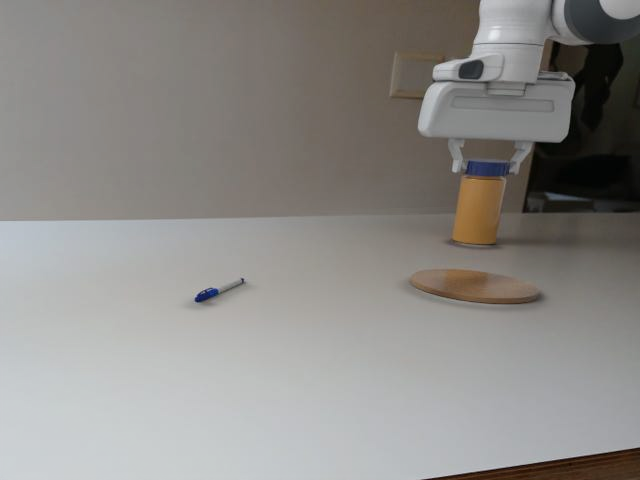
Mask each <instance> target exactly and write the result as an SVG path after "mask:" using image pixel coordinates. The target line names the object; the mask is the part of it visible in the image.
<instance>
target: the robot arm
mask: <svg viewBox="0 0 640 480" xmlns="http://www.w3.org/2000/svg"><path fill="white" fill-rule="evenodd" d="M478 16H479V25H478V30H477V33H476V36H475V38H474V39H473V42H472V48H471V53H470V55H467V56H461V57H460V56H459V57H457V58H456V59H452V60H449V61H445V62H442V63H438V64H436V65H435V66H434V67H433V69H432V79H433V80H434V81H435V82H434V83H432V84H431V85H430V86H429V87H428V88H427V90H426V91H425V94H424V97H423V100H422V103H421V107H420V111H419V117H418V123H417V130H418V132H419V134H420V135H421V137H424V138H433V139H448V142H447V148H448V151H449V153H450V155H451V158H452V159H453V161H452V166H451V172H452V173H457V174H463V173H466V172H467V166H468V163H469V160H464V159H465V158H464V157H463V154H462V151H461V148H464V147H465V142H466V140H483V141H484V140H485V141H505V142H506V141H507V142H512V141H513V142H514V149H515V150H516V152H515V153H514V154H513V156H512V157H511V159H510V160H509V161H510V164H509V165H510V169H509V174H508V175H507V176H509V175H510V176H517V175H518V174H519V172H520V167H521V163H522V162H523V161H524V160H525V159H526V157H528V155H529V154H530V152H532V147H533V144H534V143H556V144H557V143H561V142H562V141H563V140H564V139H566V137H567V136H568V134H569V129H570V124H571V114H572V112H571V111H572V101H573V98H574V94H575V89H576V82H575V81H574V79H573V78H572V77H571V76H570V75H568V73H567V72H564V71H556V72H555V71H548V70H540V69H541V63H542V57H543V53H544V48H545V43H546V40H549V41H553V42H557V43H560V44H562V45H567V46H572V47H573V46H574V47H575V46H577V47H578V46H586V45H587V46H588V45H589V46H590V45H594V44H597V45H614V44H619V43H622V42H625V41H627V40H630V39H632V38H633V37H636V36H638V35H639V34H640V0H480V2H479V7H478Z"/></svg>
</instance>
